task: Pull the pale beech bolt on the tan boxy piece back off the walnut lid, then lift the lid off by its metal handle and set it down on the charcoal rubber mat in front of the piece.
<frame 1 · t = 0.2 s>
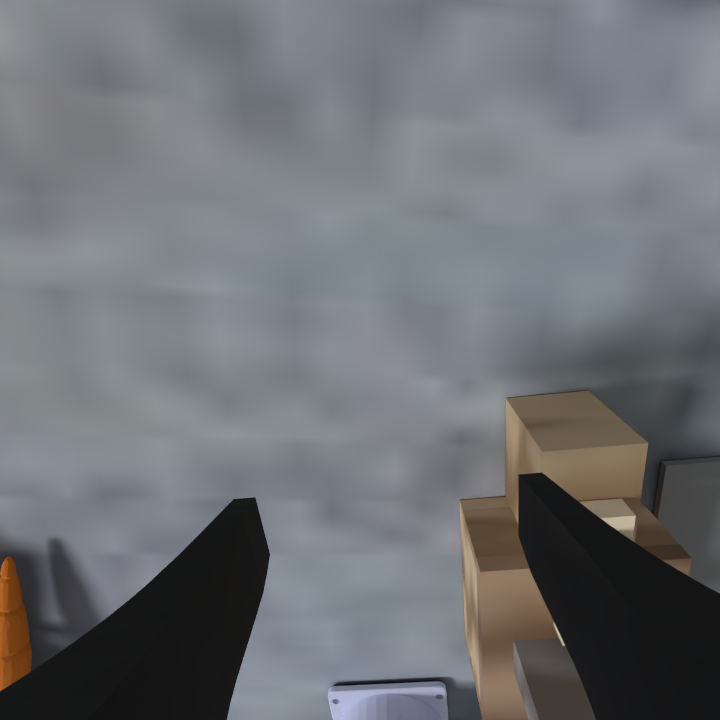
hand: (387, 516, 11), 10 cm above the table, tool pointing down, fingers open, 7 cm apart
bolt: (609, 607, 16), point 7 cm above the table, slide at 0.0 cm
tan boxy piece: (539, 570, 25), on the table
lid: (569, 635, 21), point 4 cm above the table, touching tan boxy piece
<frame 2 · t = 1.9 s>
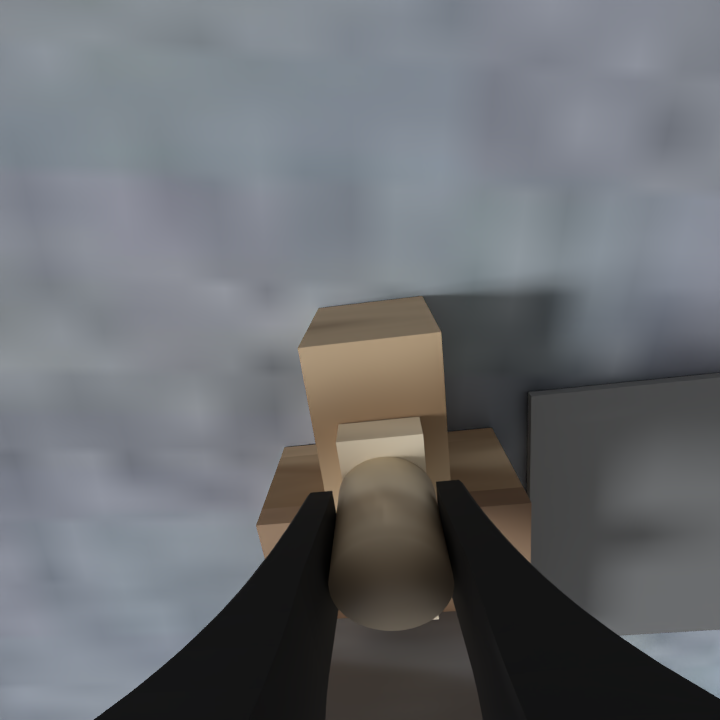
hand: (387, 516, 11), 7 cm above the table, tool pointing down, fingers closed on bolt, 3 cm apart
bolt: (393, 565, 12), point 7 cm above the table, slide at 0.0 cm, touching gripper
tan boxy piece: (398, 537, 20), on the table
lid: (404, 614, 16), point 4 cm above the table, touching tan boxy piece
mat: (660, 517, 19), on the table
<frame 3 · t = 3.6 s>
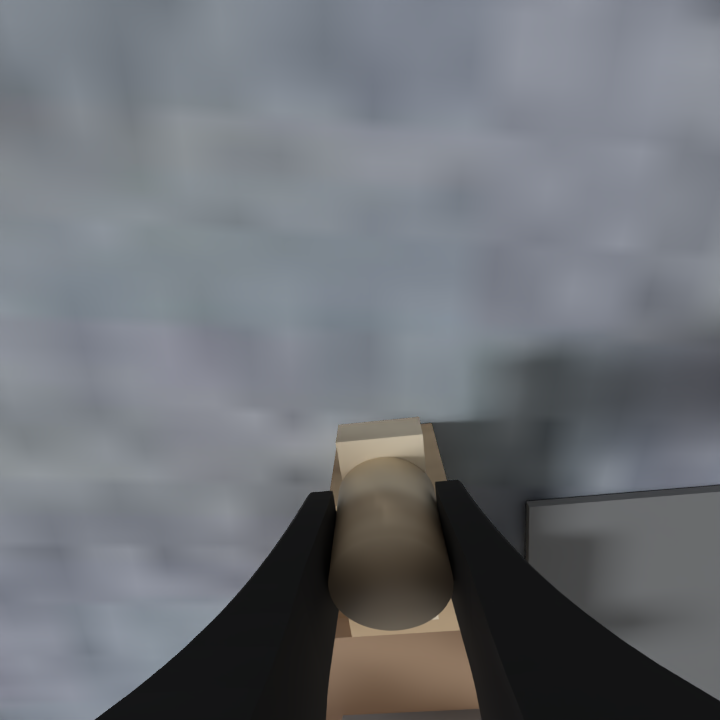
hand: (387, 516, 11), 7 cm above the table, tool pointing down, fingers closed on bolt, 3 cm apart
bolt: (393, 565, 12), point 7 cm above the table, slide at 5.5 cm, touching gripper
tan boxy piece: (408, 620, 22), on the table
lid: (415, 705, 18), point 4 cm above the table, touching tan boxy piece
mat: (646, 604, 21), on the table
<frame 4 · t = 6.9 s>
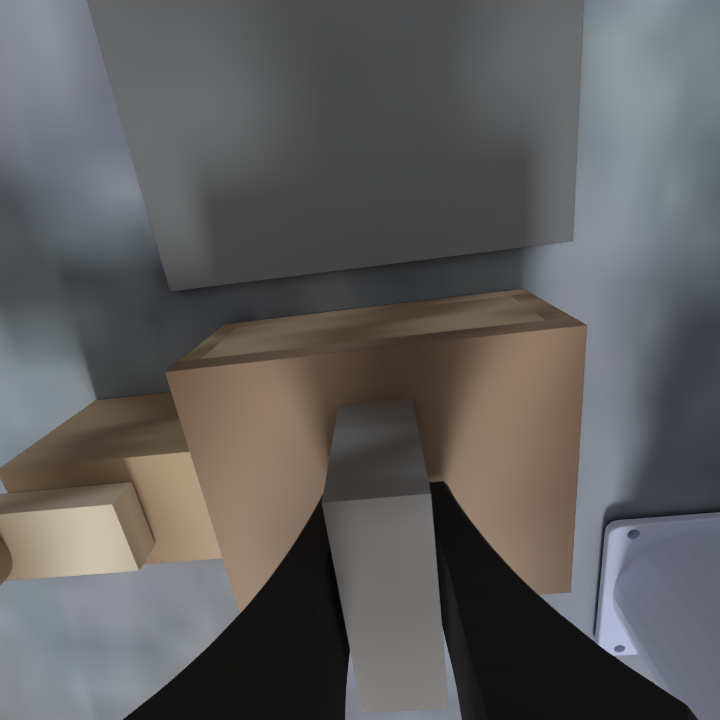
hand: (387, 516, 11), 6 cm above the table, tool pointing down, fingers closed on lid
tan boxy piece: (382, 415, 17), on the table
lid: (385, 476, 13), point 4 cm above the table, touching gripper, tan boxy piece
mat: (340, 67, 13), on the table
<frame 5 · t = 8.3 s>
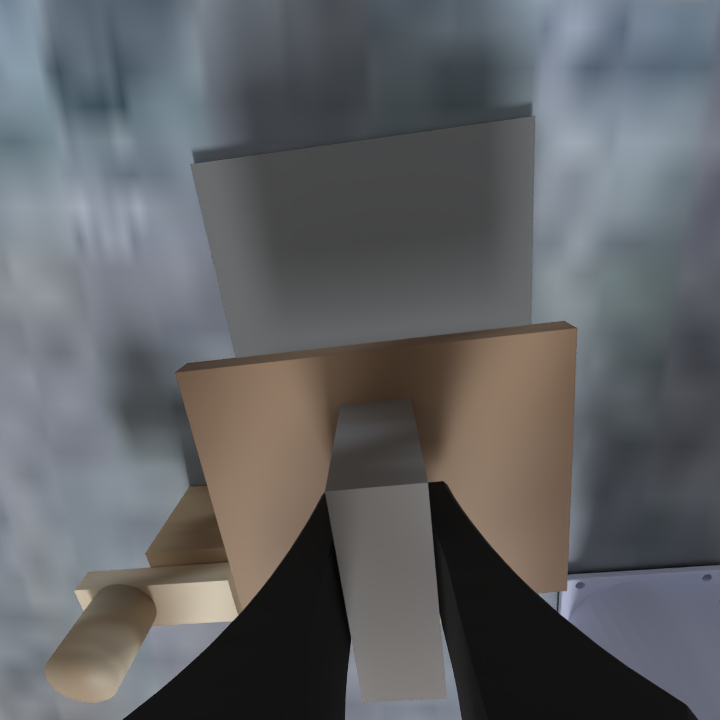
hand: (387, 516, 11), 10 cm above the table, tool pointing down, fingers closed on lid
bolt: (146, 626, 18), point 7 cm above the table, slide at 5.5 cm
tan boxy piece: (397, 500, 23), on the table
lid: (386, 475, 14), point 8 cm above the table, touching gripper
mat: (373, 286, 19), on the table
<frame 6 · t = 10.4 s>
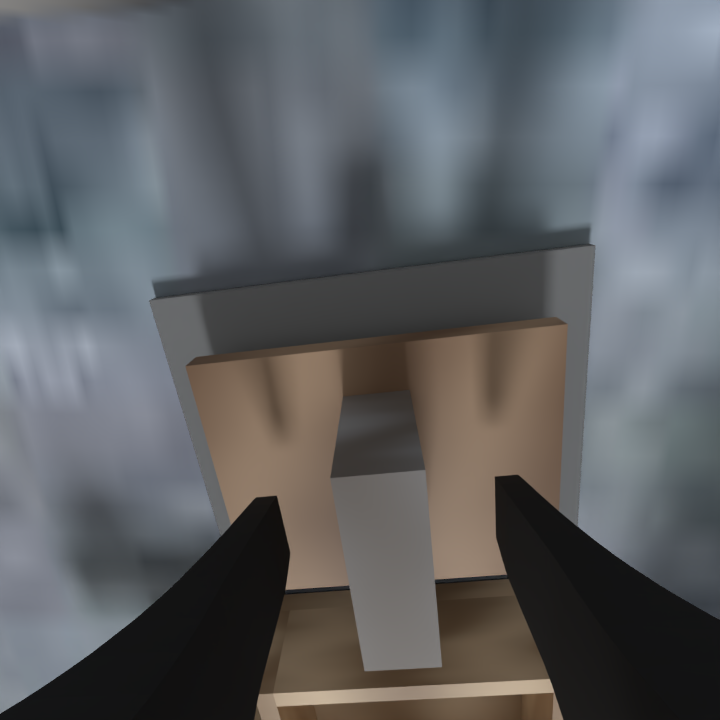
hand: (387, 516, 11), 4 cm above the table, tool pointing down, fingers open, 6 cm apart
tan boxy piece: (411, 658, 20), on the table
lid: (385, 462, 14), point 1 cm above the table, touching mat
mat: (383, 434, 16), on the table
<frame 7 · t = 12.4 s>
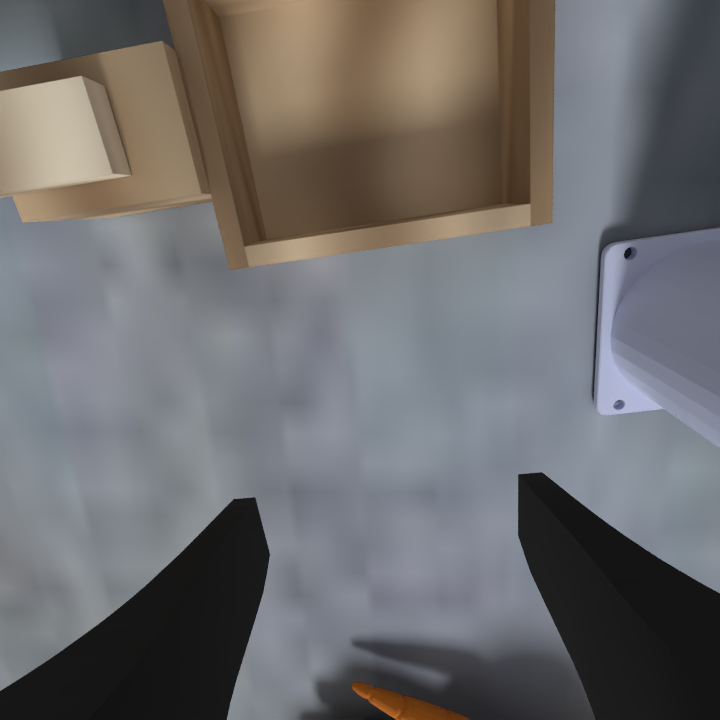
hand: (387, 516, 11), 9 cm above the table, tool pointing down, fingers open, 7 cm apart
tan boxy piece: (369, 120, 16), on the table
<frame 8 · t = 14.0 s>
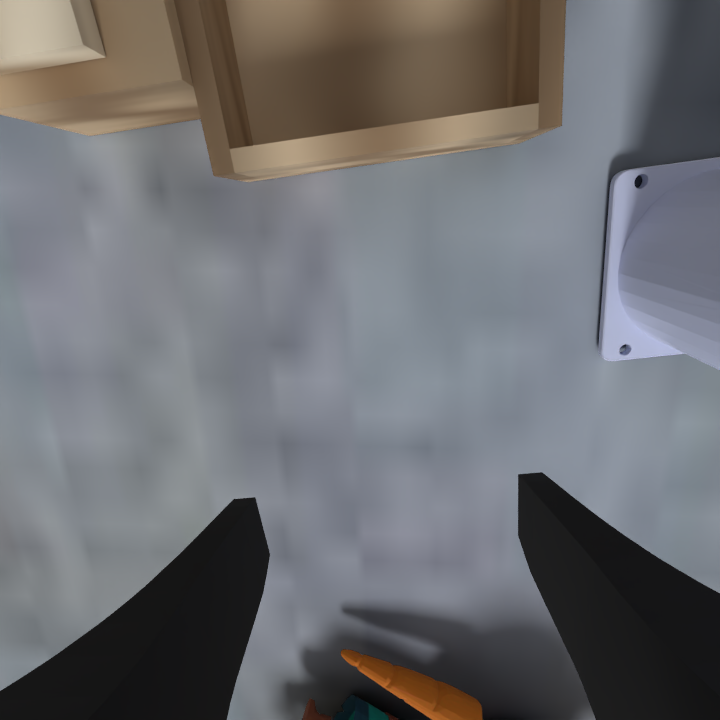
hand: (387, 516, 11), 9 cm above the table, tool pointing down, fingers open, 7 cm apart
tan boxy piece: (367, 29, 15), on the table
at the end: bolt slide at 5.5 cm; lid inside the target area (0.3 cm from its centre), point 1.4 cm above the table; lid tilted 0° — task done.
